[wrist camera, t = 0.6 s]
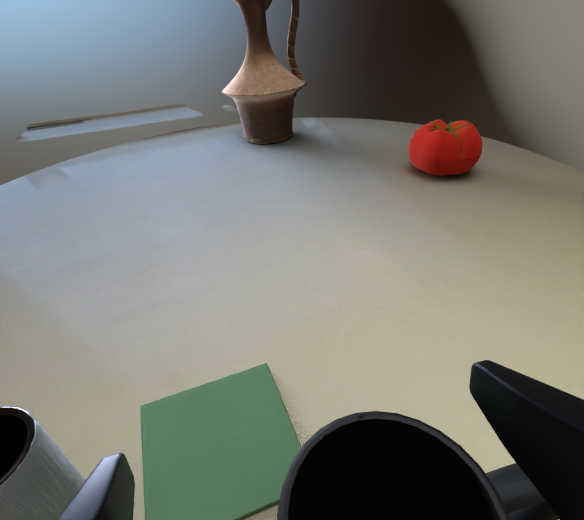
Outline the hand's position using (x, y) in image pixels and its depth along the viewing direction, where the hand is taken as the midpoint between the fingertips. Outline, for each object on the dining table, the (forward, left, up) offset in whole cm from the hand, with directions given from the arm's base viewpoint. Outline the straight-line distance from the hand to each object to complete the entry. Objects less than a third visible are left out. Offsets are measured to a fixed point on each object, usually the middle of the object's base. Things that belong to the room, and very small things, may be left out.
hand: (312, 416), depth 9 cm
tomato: (+51, -28, -16) cm, 60 cm away
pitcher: (+78, -1, -16) cm, 80 cm away
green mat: (+9, +6, -16) cm, 19 cm away
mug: (0, -5, -16) cm, 17 cm away
